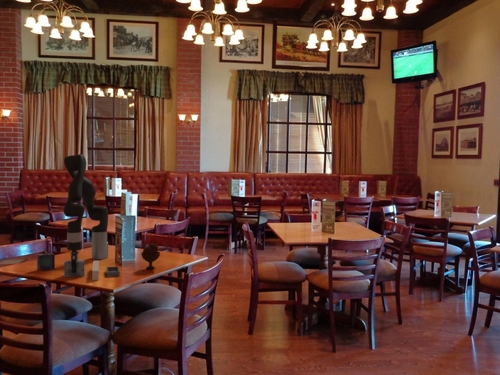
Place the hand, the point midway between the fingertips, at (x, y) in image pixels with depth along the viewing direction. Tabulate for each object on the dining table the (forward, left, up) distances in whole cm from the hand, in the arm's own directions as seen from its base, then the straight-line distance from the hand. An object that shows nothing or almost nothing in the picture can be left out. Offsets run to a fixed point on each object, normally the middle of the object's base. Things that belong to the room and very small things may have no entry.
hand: (74, 271), depth 244 cm
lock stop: (0, 0, -2) cm, 2 cm away
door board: (-8, +7, -2) cm, 11 cm away
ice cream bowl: (-35, +22, -3) cm, 42 cm away
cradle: (-15, +13, -2) cm, 20 cm away
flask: (+1, -24, -3) cm, 24 cm away
